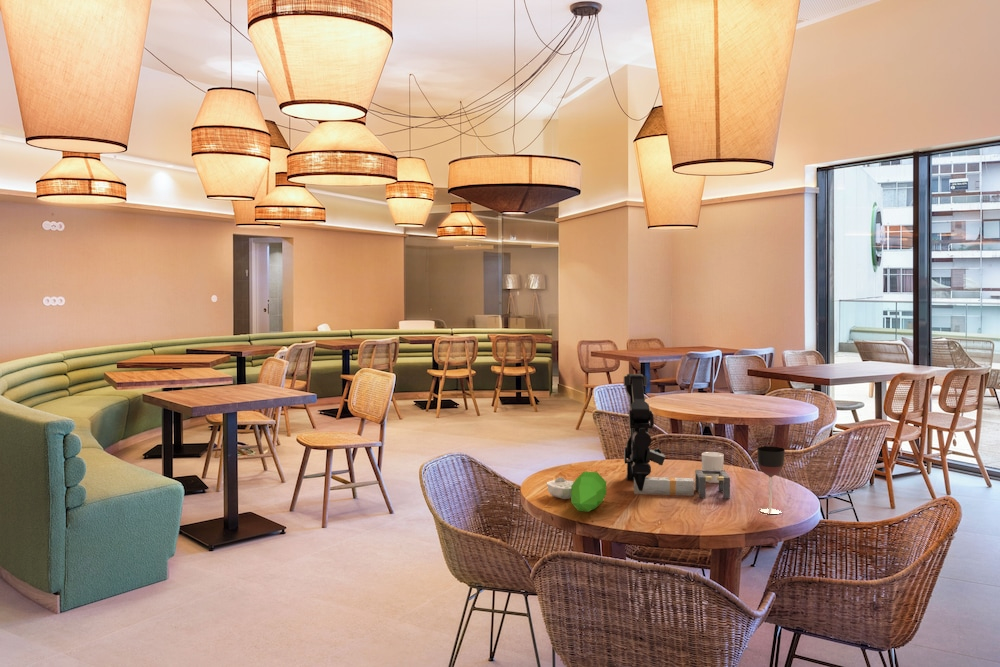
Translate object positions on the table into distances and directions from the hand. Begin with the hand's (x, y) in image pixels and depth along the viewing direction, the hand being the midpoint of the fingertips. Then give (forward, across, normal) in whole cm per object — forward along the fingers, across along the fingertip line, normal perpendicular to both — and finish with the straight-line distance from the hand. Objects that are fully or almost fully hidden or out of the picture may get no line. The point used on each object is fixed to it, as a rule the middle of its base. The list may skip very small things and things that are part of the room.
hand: (639, 487), depth 256 cm
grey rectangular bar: (+2, 0, -8) cm, 8 cm away
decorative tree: (+2, -23, +18) cm, 30 cm away
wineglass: (+2, -19, -40) cm, 44 cm away
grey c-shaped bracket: (+2, 0, -24) cm, 25 cm away
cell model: (+2, -10, +26) cm, 28 cm away
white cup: (+2, +19, -28) cm, 33 cm away
